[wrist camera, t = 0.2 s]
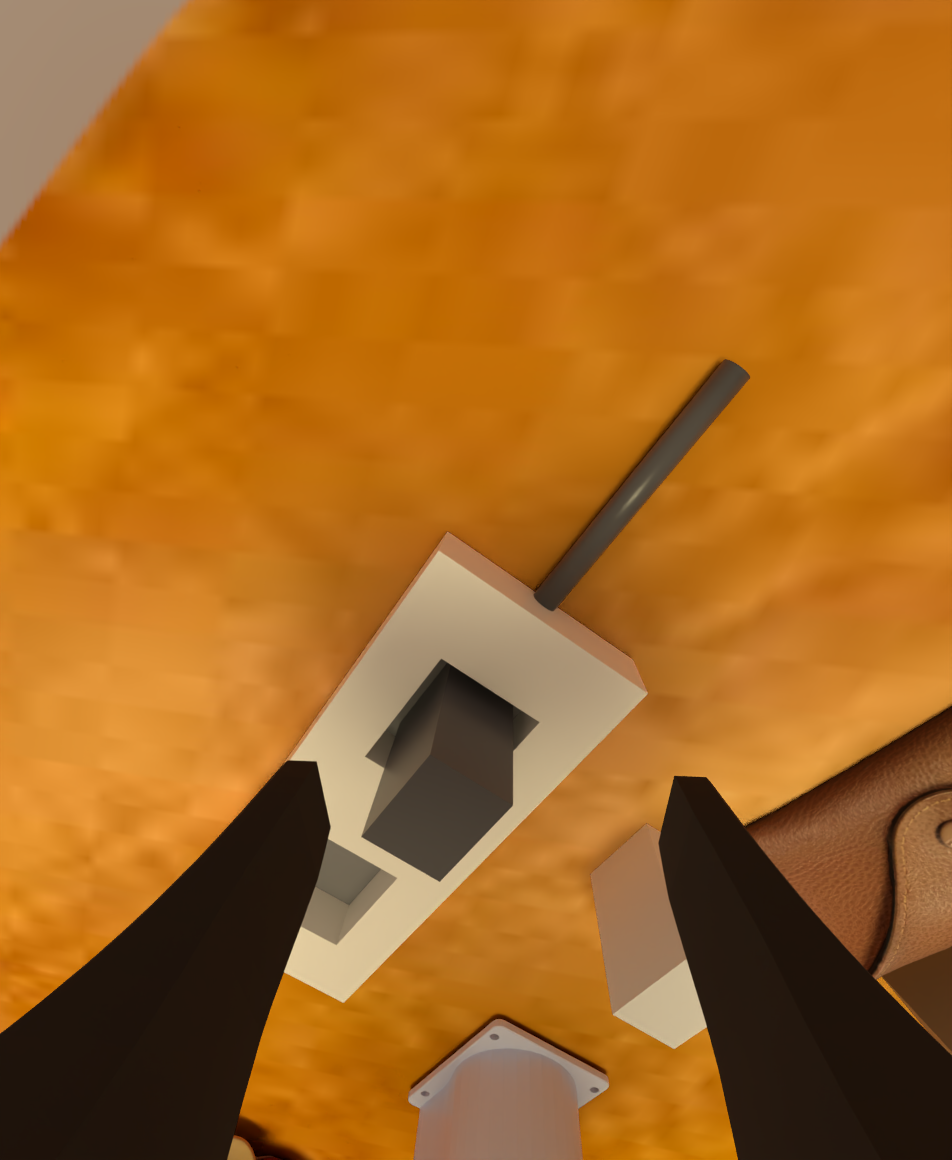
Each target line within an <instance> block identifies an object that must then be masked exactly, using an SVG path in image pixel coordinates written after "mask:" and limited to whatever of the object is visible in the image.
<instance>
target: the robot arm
mask: <svg viewBox="0 0 952 1160" xmlns="http://www.w3.org/2000/svg"><path fill="white" fill-rule="evenodd" d="M330 829H331V826H330V821H329V817H328V812H327V807H326V803H325V798H324V793H323V789H322V784H321V779H320V775H319V770H318V765H317V761H295V760H288V761H286V762H285V763H284V764H283V765H282V766H281V767H280V768H279V770H278V771H277V772H276V773H275V774H274V775H273V776H272V778H271V779H270V780H269V781H268V782H267V783H266V784H265V786H264V787H263V788H262V789H261V790H260V791H259V792H258V794H257V795H256V796H255V797H254V798H253V799H252V800H251V801H250V803H249V804H248V805H247V806H246V807H245V808H244V809H243V810H242V812H241V813H240V814H239V815H238V816H237V817H236V818H235V819H234V820H233V822H232V823H231V824H230V825H229V826H228V827H227V828H226V829H225V830H224V831H223V832H222V833H221V834H220V835H219V837H218V838H217V839H216V840H215V841H214V842H213V843H212V844H211V845H210V846H209V847H208V848H207V849H206V850H205V852H204V853H203V854H202V855H201V856H200V857H199V858H198V859H197V860H196V861H195V862H194V863H193V864H192V865H191V866H190V867H189V868H188V869H187V870H186V871H185V872H184V873H183V874H182V875H181V876H180V877H179V878H178V879H177V880H176V881H175V882H174V883H173V884H172V885H171V886H170V887H169V888H168V889H167V890H166V891H165V892H164V893H163V894H162V895H161V896H160V897H159V898H158V899H157V900H156V901H155V902H154V903H153V904H152V905H151V906H150V907H149V908H148V909H147V910H145V911H144V912H143V913H142V914H141V915H140V916H139V917H138V918H137V919H136V920H135V921H134V922H133V923H132V924H130V925H129V926H128V927H127V928H126V929H125V930H124V931H123V932H122V933H121V934H120V935H118V936H117V937H116V938H115V939H114V940H113V941H112V942H111V943H109V944H108V945H107V946H106V947H105V948H104V949H103V950H102V951H100V952H99V953H98V954H97V955H96V956H95V957H94V958H92V959H91V960H90V961H89V962H88V963H87V964H85V965H84V966H83V967H82V968H81V969H79V970H78V971H77V972H76V973H75V974H73V975H72V976H71V977H70V978H69V979H67V980H66V981H65V982H64V983H63V984H62V985H60V986H59V987H58V988H57V989H56V990H54V991H53V992H52V993H51V994H50V995H48V996H47V997H46V998H45V999H44V1000H42V1001H41V1002H40V1003H39V1004H37V1005H36V1006H35V1007H34V1008H32V1009H31V1010H30V1011H29V1012H27V1013H26V1014H25V1015H24V1016H22V1017H21V1018H20V1019H19V1020H17V1021H16V1022H15V1023H13V1024H12V1025H11V1026H10V1027H8V1028H7V1029H6V1030H4V1031H3V1032H2V1033H0V1160H227V1159H228V1155H229V1151H230V1147H231V1144H232V1140H233V1136H234V1132H235V1129H236V1125H237V1121H238V1117H239V1114H240V1110H241V1106H242V1102H243V1099H244V1095H245V1092H246V1088H247V1085H248V1081H249V1078H250V1074H251V1071H252V1067H253V1064H254V1060H255V1057H256V1053H257V1050H258V1046H259V1042H260V1039H261V1036H262V1033H263V1030H264V1027H265V1024H266V1021H267V1018H268V1015H269V1012H270V1009H271V1006H272V1003H273V1000H274V997H275V995H276V992H277V989H278V987H279V984H280V981H281V979H282V976H283V973H284V970H285V968H286V965H287V962H288V960H289V957H290V954H291V952H292V949H293V946H294V943H295V941H296V938H297V935H298V933H299V930H300V927H301V925H302V922H303V919H304V916H305V914H306V911H307V908H308V905H309V903H310V900H311V897H312V894H313V892H314V889H315V886H316V883H317V880H318V877H319V873H320V869H321V865H322V861H323V858H324V854H325V849H326V845H327V841H328V837H329V833H330ZM658 844H659V850H660V856H661V861H662V867H663V872H664V877H665V882H666V888H667V893H668V898H669V902H670V905H671V908H672V912H673V915H674V919H675V922H676V926H677V929H678V932H679V936H680V939H681V942H682V946H683V949H684V952H685V956H686V959H687V962H688V966H689V969H690V972H691V976H692V979H693V982H694V986H695V989H696V992H697V996H698V999H699V1002H700V1005H701V1009H702V1012H703V1015H704V1019H705V1022H706V1025H707V1029H708V1032H709V1035H710V1039H711V1043H712V1047H713V1050H714V1054H715V1058H716V1062H717V1065H718V1069H719V1074H720V1078H721V1083H722V1087H723V1092H724V1096H725V1101H726V1106H727V1110H728V1115H729V1119H730V1124H731V1128H732V1133H733V1138H734V1142H735V1147H736V1152H737V1157H738V1160H952V1055H951V1054H950V1053H949V1052H948V1051H947V1050H946V1049H945V1048H944V1047H943V1046H942V1045H941V1044H940V1043H939V1042H938V1041H937V1040H936V1039H935V1038H934V1037H933V1036H932V1035H931V1034H929V1033H928V1032H927V1031H926V1030H925V1029H924V1028H923V1027H922V1026H921V1025H920V1024H919V1023H918V1022H917V1021H916V1020H915V1019H914V1018H913V1017H912V1016H911V1015H910V1014H909V1013H908V1012H907V1011H906V1010H905V1009H904V1008H903V1007H902V1006H901V1005H900V1004H899V1003H898V1002H897V1001H896V1000H895V999H894V998H893V997H892V996H891V995H890V994H889V993H888V992H887V991H886V990H885V989H884V988H883V987H882V986H881V984H880V983H879V982H878V981H877V980H876V979H875V978H874V977H873V976H872V975H871V974H870V973H869V972H868V971H867V970H866V969H865V968H864V967H863V966H862V964H861V963H860V962H859V961H858V960H857V959H856V958H855V957H854V956H853V955H852V954H851V953H850V952H849V950H848V949H847V948H846V947H845V946H844V945H843V944H842V943H841V942H840V940H839V939H838V938H837V937H836V936H835V935H834V934H833V933H832V932H831V930H830V929H829V928H828V927H827V926H826V925H825V924H824V923H823V921H822V920H821V919H820V918H819V917H818V916H817V915H816V913H815V912H814V911H813V910H812V909H811V908H810V907H809V905H808V904H807V903H806V902H805V901H804V900H803V898H802V897H801V896H800V895H799V894H798V892H797V891H796V890H795V889H794V888H793V886H792V885H791V884H790V883H789V882H788V880H787V879H786V878H785V877H784V876H783V874H782V873H781V872H780V871H779V869H778V868H777V867H776V866H775V865H774V863H773V862H772V861H771V860H770V859H769V857H768V856H767V855H766V854H765V852H764V851H763V850H762V849H761V847H760V846H759V845H758V843H757V842H756V841H755V840H754V838H753V837H752V836H751V834H750V833H749V832H748V831H747V829H746V828H745V827H744V825H743V824H742V823H741V822H740V820H739V819H738V818H737V816H736V815H735V814H734V812H733V811H732V810H731V808H730V807H729V806H728V804H727V803H726V802H725V800H724V799H723V798H722V796H721V795H720V794H719V792H718V791H717V790H716V788H715V787H714V786H713V784H712V783H711V782H710V781H709V780H708V779H707V778H706V777H687V776H674V780H673V784H672V788H671V792H670V796H669V801H668V805H667V809H666V813H665V817H664V821H663V826H662V830H661V834H660V838H659V842H658ZM608 1087H609V1081H608V1077H607V1076H606V1075H605V1074H604V1073H602V1072H600V1071H598V1070H596V1069H594V1068H592V1067H591V1066H589V1065H587V1064H585V1063H583V1062H581V1061H579V1060H578V1059H576V1058H574V1057H572V1056H570V1055H568V1054H566V1053H565V1052H563V1051H561V1050H559V1049H557V1048H555V1047H553V1046H552V1045H550V1044H548V1043H546V1042H544V1041H542V1040H540V1039H539V1038H537V1037H535V1036H533V1035H531V1034H529V1033H527V1032H526V1031H524V1030H522V1029H520V1028H518V1027H516V1026H514V1025H513V1024H511V1023H509V1022H507V1021H505V1020H503V1019H496V1020H494V1021H492V1022H491V1023H490V1024H489V1025H488V1026H486V1027H485V1028H484V1029H483V1030H482V1031H480V1032H479V1033H478V1034H477V1035H476V1036H474V1037H473V1038H472V1039H471V1040H470V1041H469V1042H467V1043H466V1044H465V1045H464V1046H463V1047H461V1048H460V1049H459V1050H458V1051H457V1052H455V1053H454V1054H453V1055H452V1056H451V1057H449V1058H448V1059H447V1060H446V1061H445V1062H443V1063H442V1064H441V1065H440V1066H439V1067H438V1068H436V1069H435V1070H434V1071H433V1072H432V1073H430V1074H429V1075H428V1076H427V1077H426V1078H424V1079H423V1080H422V1081H421V1082H420V1083H418V1084H417V1085H416V1086H415V1087H414V1088H413V1089H411V1090H410V1091H409V1096H408V1101H409V1102H410V1103H411V1104H412V1105H414V1106H416V1107H418V1108H420V1114H419V1122H418V1130H417V1137H416V1145H415V1153H414V1160H583V1157H582V1146H581V1135H580V1124H579V1113H578V1109H579V1108H580V1107H582V1106H583V1105H585V1104H586V1103H588V1102H589V1101H590V1100H592V1099H593V1098H595V1097H596V1096H598V1095H599V1094H601V1093H602V1092H604V1091H605V1090H606V1089H607V1088H608Z"/></svg>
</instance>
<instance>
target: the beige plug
mask: <svg viewBox="0 0 952 1160" xmlns="http://www.w3.org/2000/svg"><path fill="white" fill-rule="evenodd" d="M660 834H661V832H660V831H658V830H657V829H655V828H653V827H652V826H650V825H649V824H647V823H646V824H645V825H644V826H643V827H642V828H641V829H640V830H639V831H638V832H636V833H635V834H634V835H633V836H632V837H631V838H630V839H629V840H628V841H626V842H625V843H624V844H623V845H622V846H621V847H620V848H619V849H618V850H616V851H615V852H614V853H613V854H612V855H611V856H610V857H609V858H608V859H606V860H605V861H604V862H603V863H602V864H601V865H600V866H599V867H598V868H596V869H595V870H594V871H593V872H592V873H591V874H590V876H591V882H592V888H593V895H594V901H595V907H596V914H597V920H598V926H599V932H600V939H601V945H602V951H603V958H604V964H605V970H606V976H607V983H608V989H609V995H610V1002H611V1008H612V1014H613V1015H614V1016H616V1017H618V1018H620V1019H621V1020H623V1021H625V1022H627V1023H629V1024H630V1025H632V1026H634V1027H636V1028H637V1029H639V1030H641V1031H643V1032H645V1033H646V1034H648V1035H650V1036H652V1037H653V1038H655V1039H657V1040H659V1041H661V1042H662V1043H664V1044H666V1045H668V1046H670V1047H671V1048H673V1049H675V1048H676V1047H678V1046H679V1045H681V1044H682V1043H684V1042H685V1041H687V1040H688V1039H690V1038H691V1037H693V1036H694V1035H696V1034H697V1033H698V1032H700V1031H701V1030H703V1029H704V1028H706V1027H707V1025H706V1022H705V1019H704V1015H703V1012H702V1009H701V1005H700V1002H699V999H698V996H697V992H696V989H695V986H694V982H693V979H692V976H691V972H690V969H689V966H688V962H687V959H686V956H685V952H684V949H683V946H682V942H681V939H680V936H679V932H678V929H677V926H676V922H675V919H674V915H673V912H672V908H671V905H670V902H669V898H668V893H667V888H666V882H665V877H664V872H663V867H662V861H661V856H660V850H659V844H658V842H659V838H660Z"/></svg>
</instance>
